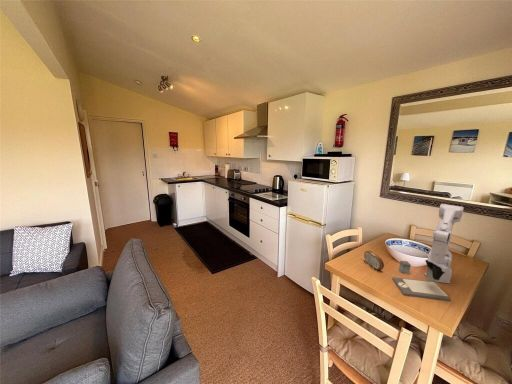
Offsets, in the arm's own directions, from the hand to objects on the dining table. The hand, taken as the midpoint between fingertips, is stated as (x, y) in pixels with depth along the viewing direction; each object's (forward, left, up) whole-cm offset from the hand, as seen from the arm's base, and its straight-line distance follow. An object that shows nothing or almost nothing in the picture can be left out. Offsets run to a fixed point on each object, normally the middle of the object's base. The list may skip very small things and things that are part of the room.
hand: (433, 276), depth 112 cm
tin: (+23, -20, -9) cm, 31 cm away
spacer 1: (+6, -17, -8) cm, 20 cm away
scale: (+6, 0, -8) cm, 10 cm away
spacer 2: (0, 0, -2) cm, 2 cm away
